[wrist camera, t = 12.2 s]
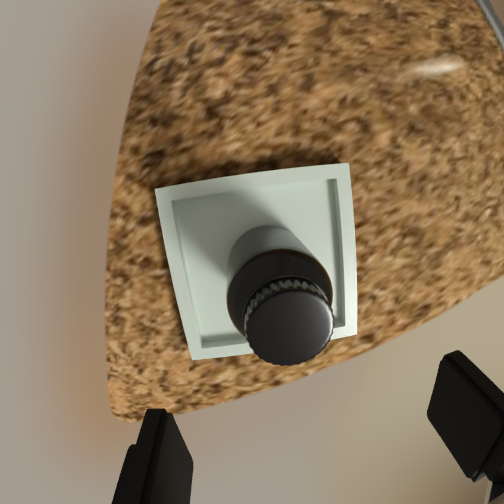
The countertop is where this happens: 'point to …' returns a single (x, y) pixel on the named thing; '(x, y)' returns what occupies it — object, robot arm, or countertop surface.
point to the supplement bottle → (279, 296)
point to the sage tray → (240, 221)
